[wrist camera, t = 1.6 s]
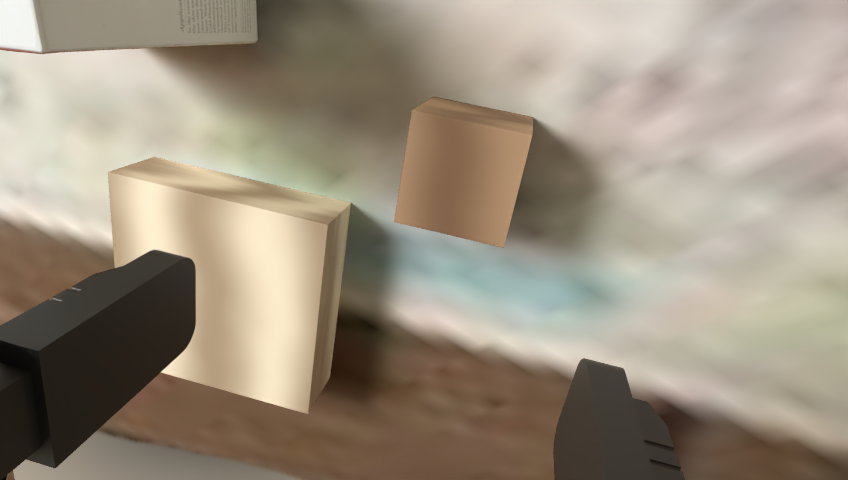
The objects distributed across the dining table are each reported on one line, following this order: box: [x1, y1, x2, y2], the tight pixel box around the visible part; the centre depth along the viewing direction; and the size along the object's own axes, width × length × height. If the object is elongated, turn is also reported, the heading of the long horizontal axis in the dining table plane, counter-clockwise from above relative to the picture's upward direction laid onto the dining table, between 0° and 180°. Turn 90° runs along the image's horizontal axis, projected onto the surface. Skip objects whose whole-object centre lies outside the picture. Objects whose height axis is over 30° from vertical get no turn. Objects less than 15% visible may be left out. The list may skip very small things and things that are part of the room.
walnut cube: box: [394, 97, 533, 248], centre depth 24 cm, size 5×5×5 cm
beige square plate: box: [108, 157, 351, 414], centre depth 31 cm, size 12×12×4 cm
